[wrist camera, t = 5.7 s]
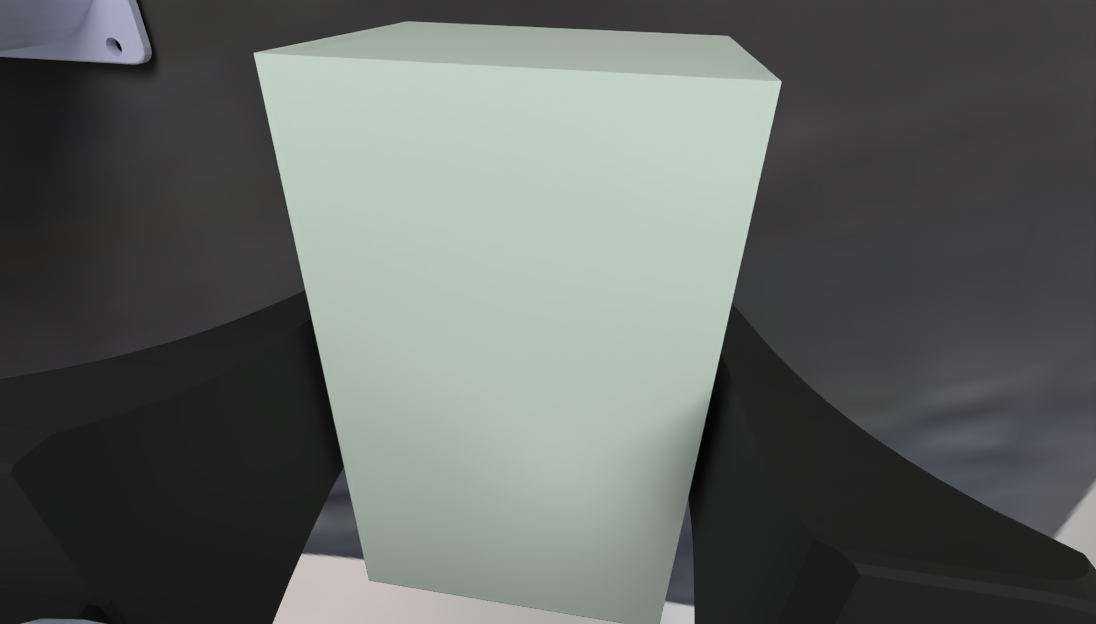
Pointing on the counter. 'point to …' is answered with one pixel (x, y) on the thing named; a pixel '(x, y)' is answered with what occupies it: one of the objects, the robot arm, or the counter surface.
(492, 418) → the pale green block
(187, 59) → the counter surface
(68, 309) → the counter surface
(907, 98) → the counter surface
